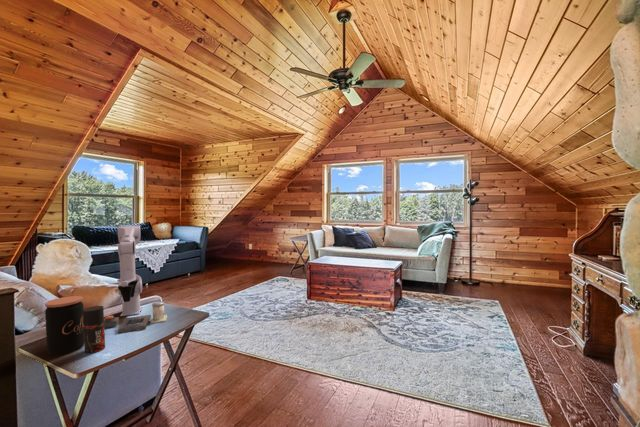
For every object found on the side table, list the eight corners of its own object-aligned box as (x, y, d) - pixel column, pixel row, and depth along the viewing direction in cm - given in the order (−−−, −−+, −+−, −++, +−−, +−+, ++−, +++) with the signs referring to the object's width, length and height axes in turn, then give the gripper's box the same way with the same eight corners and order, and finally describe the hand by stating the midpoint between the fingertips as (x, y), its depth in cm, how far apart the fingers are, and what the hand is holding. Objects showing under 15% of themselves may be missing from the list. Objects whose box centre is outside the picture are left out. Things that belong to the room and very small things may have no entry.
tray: (153, 317, 142) (153, 316, 142) (167, 315, 144) (167, 314, 144) (150, 323, 135) (150, 322, 135) (165, 321, 137) (165, 320, 137)
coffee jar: (64, 357, 106) (62, 305, 105) (38, 355, 107) (36, 304, 107) (92, 343, 116) (90, 296, 116) (68, 341, 118) (66, 295, 118)
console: (103, 324, 135) (102, 319, 135) (119, 322, 137) (118, 317, 137) (99, 328, 130) (99, 323, 130) (116, 326, 132) (115, 320, 132)
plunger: (106, 324, 134) (105, 316, 134) (114, 322, 136) (114, 315, 135) (104, 326, 131) (103, 318, 131) (112, 325, 133) (112, 317, 132)
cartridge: (152, 318, 140) (151, 302, 140) (163, 315, 143) (163, 300, 142) (153, 321, 136) (152, 305, 136) (165, 319, 139) (164, 303, 138)
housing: (125, 321, 138) (125, 318, 138) (150, 317, 142) (150, 314, 142) (117, 333, 125) (117, 329, 125) (145, 328, 129) (145, 325, 129)
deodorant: (94, 354, 107) (92, 311, 107) (80, 352, 108) (78, 310, 108) (109, 346, 113) (107, 306, 113) (95, 345, 114) (94, 305, 114)
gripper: (121, 267, 142) (122, 296, 142) (112, 272, 128) (114, 305, 128) (138, 265, 144) (139, 294, 144) (132, 270, 131) (133, 302, 131)
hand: (129, 299), depth 136 cm, fingers open, 7 cm apart
